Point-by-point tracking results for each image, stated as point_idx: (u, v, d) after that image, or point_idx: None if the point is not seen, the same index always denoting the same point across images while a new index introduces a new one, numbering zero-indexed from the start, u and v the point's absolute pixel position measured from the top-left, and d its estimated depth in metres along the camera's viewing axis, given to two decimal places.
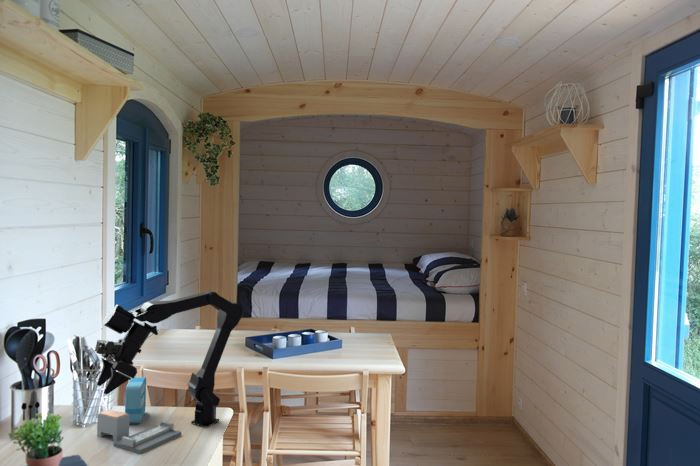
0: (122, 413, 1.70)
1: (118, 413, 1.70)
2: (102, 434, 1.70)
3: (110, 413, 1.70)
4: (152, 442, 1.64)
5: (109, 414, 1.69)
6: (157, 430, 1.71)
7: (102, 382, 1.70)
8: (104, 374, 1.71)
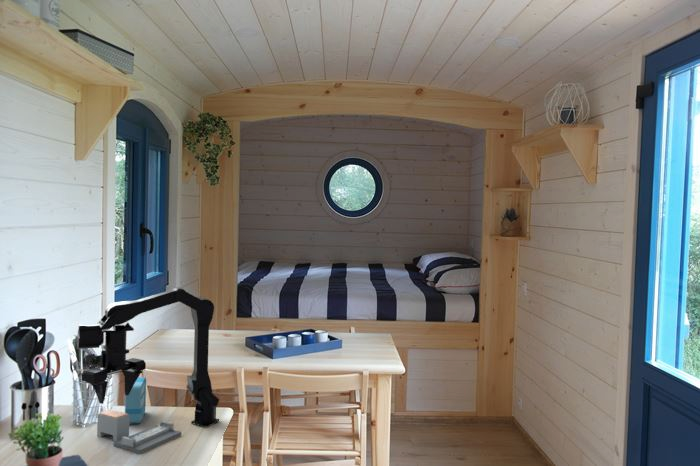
0: (122, 413, 1.70)
1: (118, 413, 1.70)
2: (102, 434, 1.70)
3: (110, 413, 1.70)
4: (152, 442, 1.64)
5: (109, 414, 1.69)
6: (157, 430, 1.71)
7: (127, 391, 1.74)
8: (126, 383, 1.74)
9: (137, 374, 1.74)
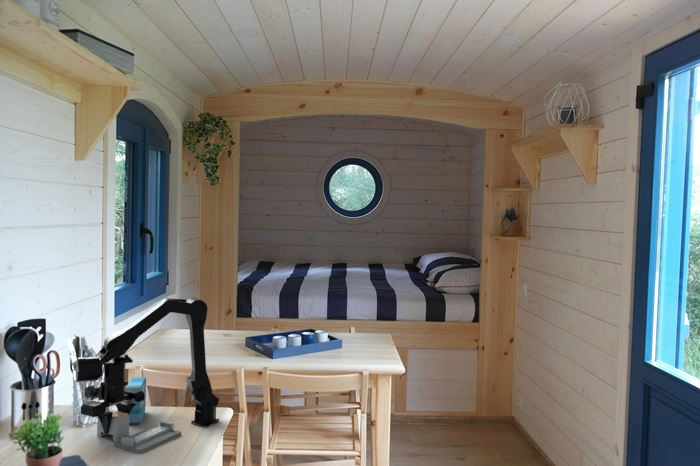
0: (122, 413, 1.70)
1: (118, 413, 1.70)
2: (102, 434, 1.70)
3: None
4: (152, 442, 1.64)
5: None
6: (157, 430, 1.71)
7: None
8: None
9: (130, 407, 1.72)
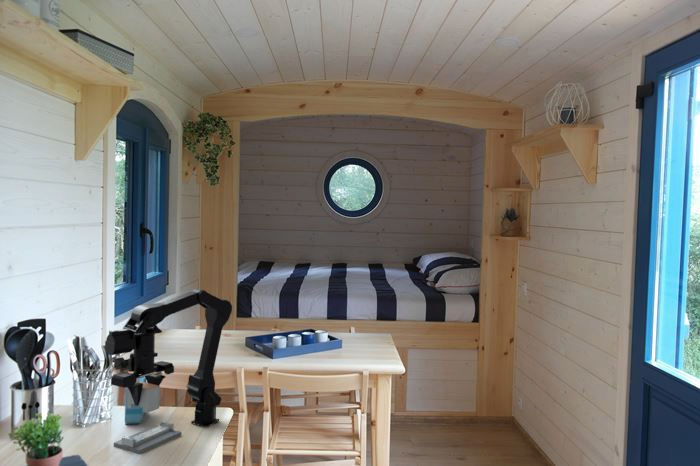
0: (152, 385, 1.68)
1: (148, 385, 1.68)
2: (132, 406, 1.68)
3: None
4: (152, 442, 1.64)
5: None
6: (157, 430, 1.71)
7: None
8: None
9: (160, 379, 1.70)
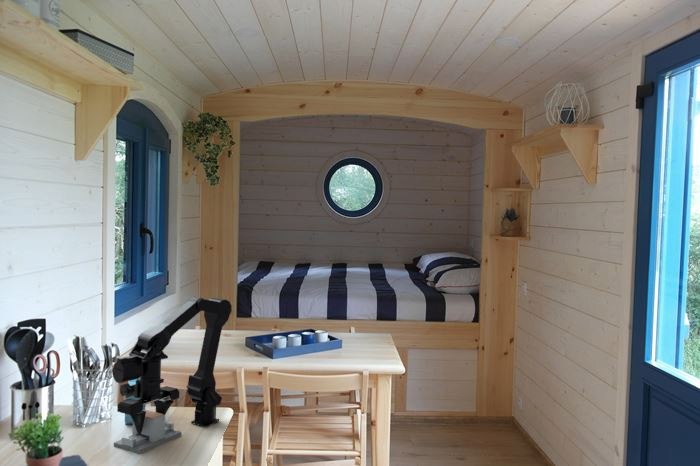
0: (158, 414, 1.68)
1: (154, 414, 1.68)
2: None
3: (146, 414, 1.68)
4: (152, 442, 1.64)
5: (145, 415, 1.67)
6: None
7: None
8: None
9: (169, 404, 1.71)
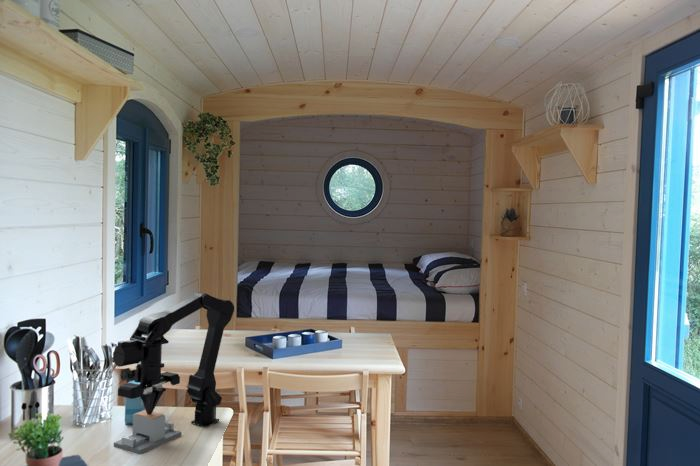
0: (158, 414, 1.68)
1: (154, 414, 1.68)
2: None
3: (146, 414, 1.68)
4: (152, 442, 1.64)
5: (145, 415, 1.67)
6: None
7: None
8: None
9: (161, 392, 1.68)
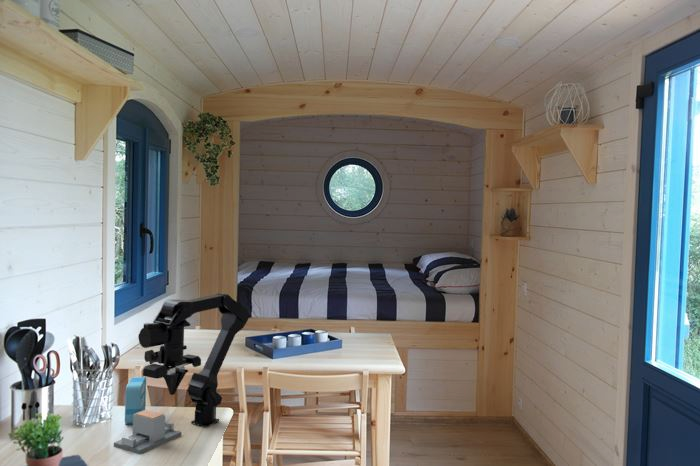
0: (158, 414, 1.68)
1: (154, 414, 1.68)
2: None
3: (146, 414, 1.68)
4: (152, 442, 1.64)
5: (145, 415, 1.67)
6: None
7: None
8: None
9: (183, 373, 1.73)
